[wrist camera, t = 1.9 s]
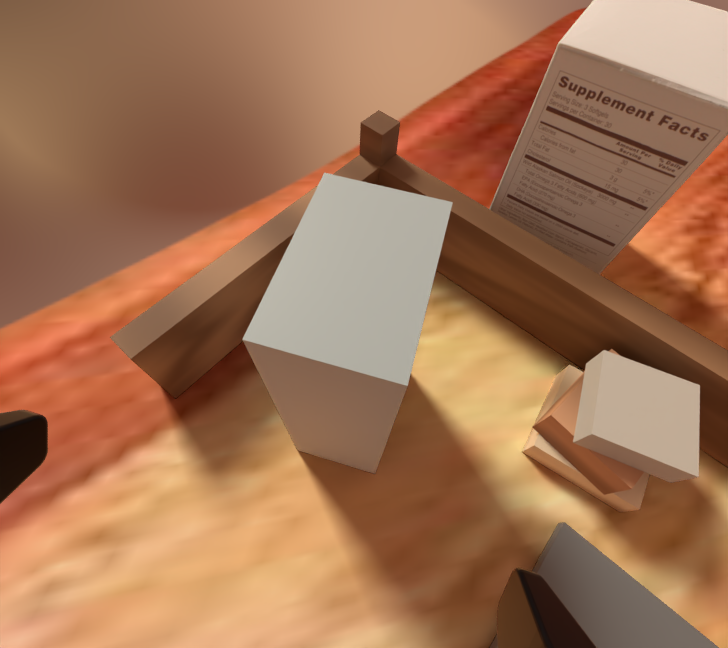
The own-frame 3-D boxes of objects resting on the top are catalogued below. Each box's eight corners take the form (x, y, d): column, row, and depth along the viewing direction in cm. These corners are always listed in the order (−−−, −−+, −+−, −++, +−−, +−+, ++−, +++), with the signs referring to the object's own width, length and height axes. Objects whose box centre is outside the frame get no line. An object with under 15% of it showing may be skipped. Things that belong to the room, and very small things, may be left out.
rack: (606, 846, 14) (811, 1081, 8) (158, 380, 21) (82, 313, 15) (749, 453, 21) (918, 412, 15) (371, 205, 28) (378, 110, 22)
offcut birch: (613, 512, 20) (639, 509, 18) (518, 453, 21) (534, 445, 19) (640, 427, 22) (666, 417, 20) (552, 378, 23) (569, 364, 21)
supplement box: (514, 186, 30) (613, -28, 19) (612, 231, 28) (785, 24, 17) (468, 249, 27) (554, 37, 16) (575, 304, 25) (758, 108, 14)
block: (374, 473, 20) (407, 386, 9) (297, 450, 20) (242, 339, 9) (403, 364, 22) (452, 202, 12) (334, 345, 23) (324, 172, 12)
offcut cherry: (603, 494, 18) (631, 488, 16) (532, 427, 19) (550, 415, 18) (658, 422, 20) (689, 410, 18) (589, 365, 21) (611, 348, 19)
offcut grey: (670, 482, 16) (699, 477, 15) (572, 442, 17) (591, 434, 16) (674, 397, 18) (699, 385, 17) (586, 363, 19) (603, 350, 18)
